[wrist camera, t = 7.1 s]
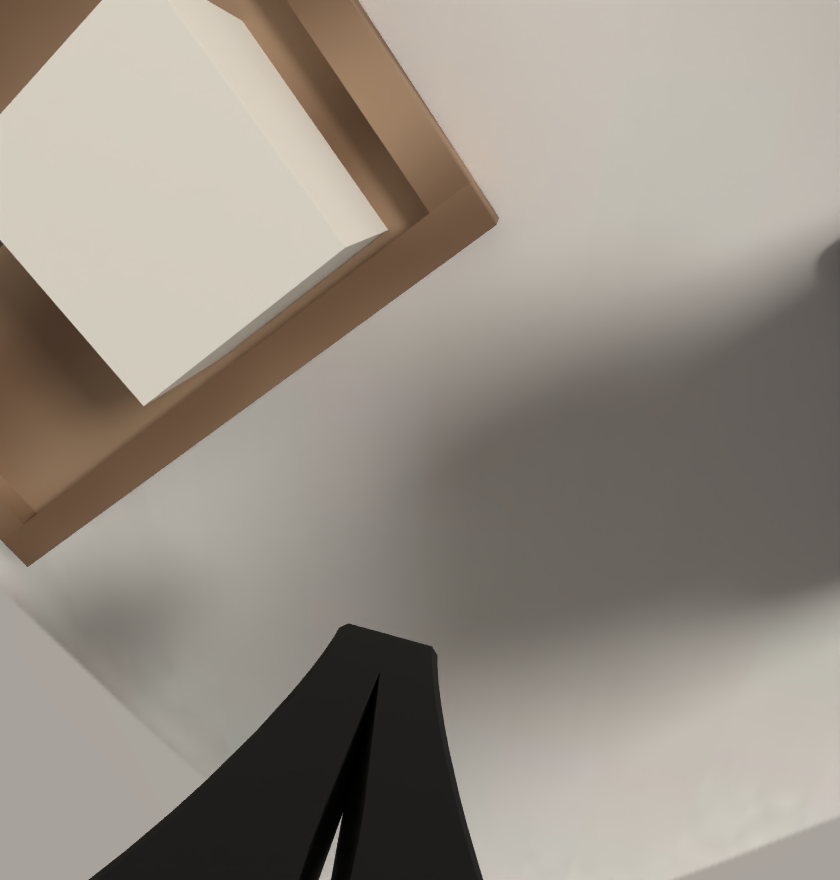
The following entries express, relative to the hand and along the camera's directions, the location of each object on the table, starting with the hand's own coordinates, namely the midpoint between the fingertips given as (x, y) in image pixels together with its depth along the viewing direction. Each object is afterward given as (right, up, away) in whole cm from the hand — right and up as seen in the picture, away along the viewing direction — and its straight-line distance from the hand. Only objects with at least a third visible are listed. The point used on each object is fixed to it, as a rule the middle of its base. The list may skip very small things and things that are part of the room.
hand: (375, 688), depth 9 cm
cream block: (-4, +9, +5) cm, 11 cm away
